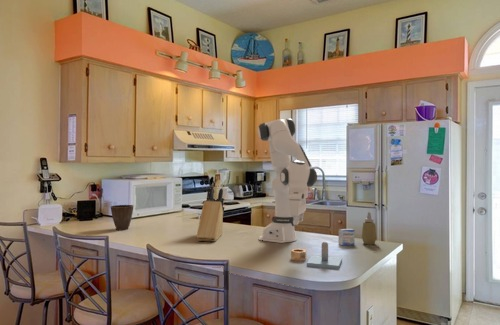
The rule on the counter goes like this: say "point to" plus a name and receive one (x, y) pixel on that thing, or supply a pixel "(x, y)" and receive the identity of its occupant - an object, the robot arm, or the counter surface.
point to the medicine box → (346, 237)
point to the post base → (325, 263)
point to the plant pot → (122, 216)
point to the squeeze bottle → (369, 231)
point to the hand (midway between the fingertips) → (298, 223)
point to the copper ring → (298, 254)
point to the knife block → (211, 217)
